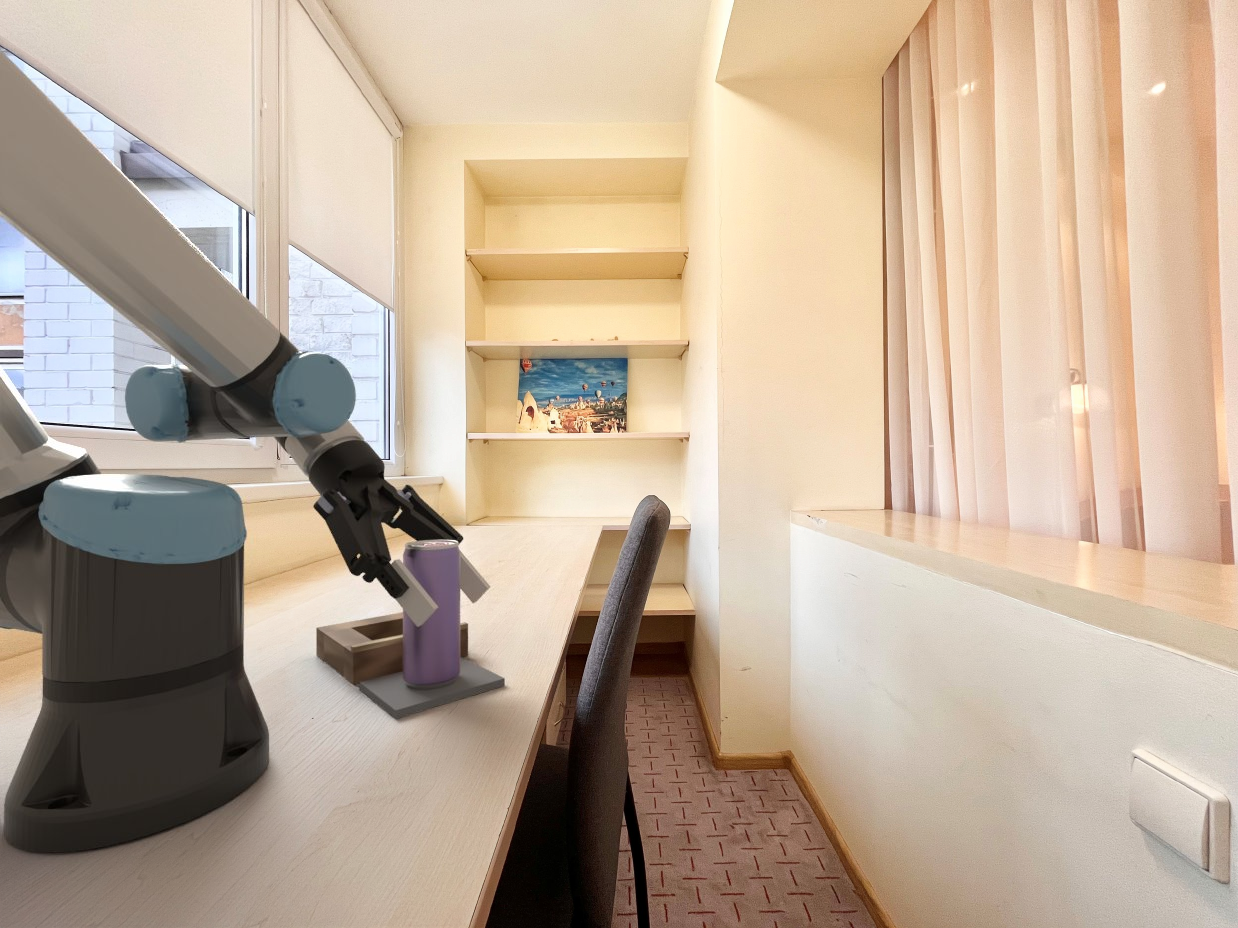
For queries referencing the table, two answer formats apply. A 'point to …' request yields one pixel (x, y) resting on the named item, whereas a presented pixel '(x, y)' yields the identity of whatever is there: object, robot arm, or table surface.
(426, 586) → the beverage can
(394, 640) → the can holder
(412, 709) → the rubber mat
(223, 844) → the table surface
